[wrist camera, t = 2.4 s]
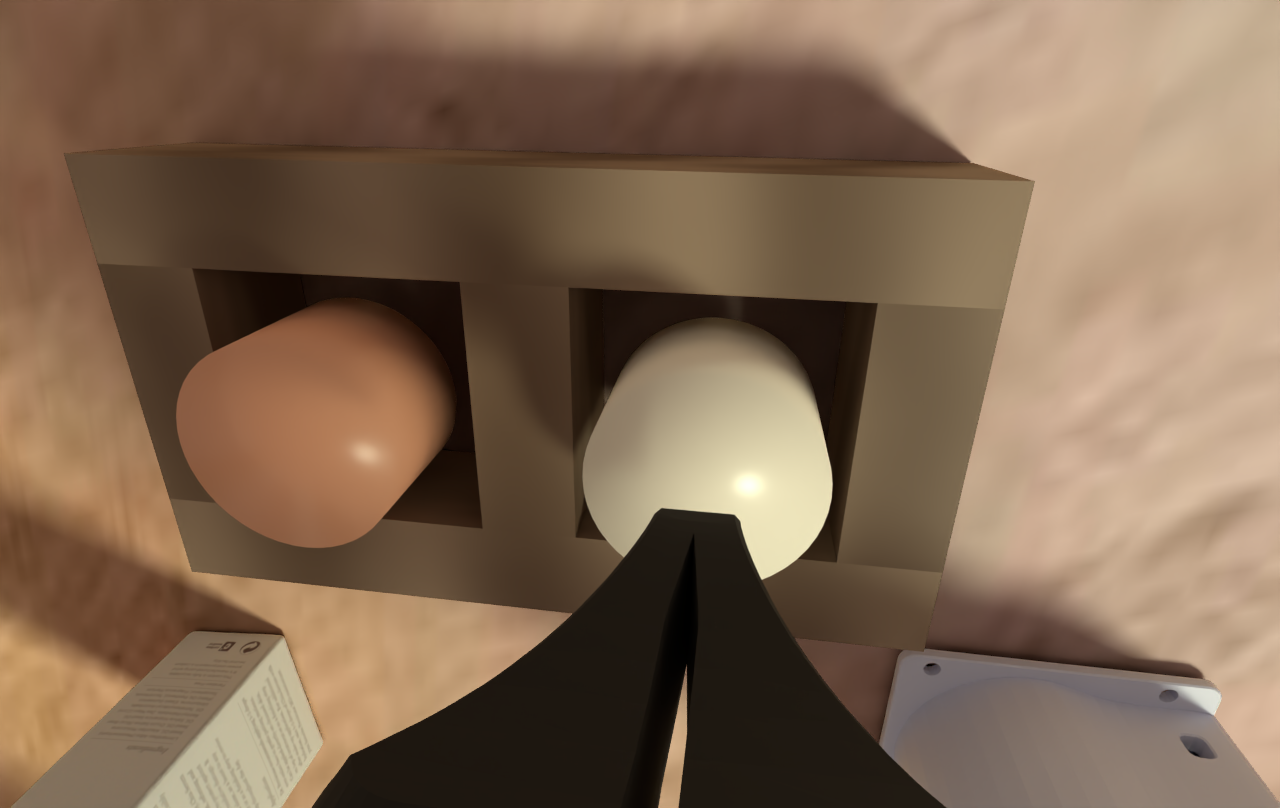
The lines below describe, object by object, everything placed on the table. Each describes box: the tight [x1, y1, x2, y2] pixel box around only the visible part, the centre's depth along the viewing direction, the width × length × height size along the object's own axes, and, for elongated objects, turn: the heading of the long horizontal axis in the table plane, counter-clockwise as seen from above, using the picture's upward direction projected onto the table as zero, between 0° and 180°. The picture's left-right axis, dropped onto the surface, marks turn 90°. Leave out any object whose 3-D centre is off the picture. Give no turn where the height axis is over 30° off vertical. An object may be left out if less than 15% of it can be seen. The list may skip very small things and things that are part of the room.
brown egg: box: [176, 297, 457, 548], centre depth 17 cm, size 5×5×4 cm
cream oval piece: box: [582, 318, 833, 579], centre depth 16 cm, size 5×5×4 cm
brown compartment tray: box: [64, 143, 1035, 652], centre depth 19 cm, size 21×12×4 cm, turn 89°
